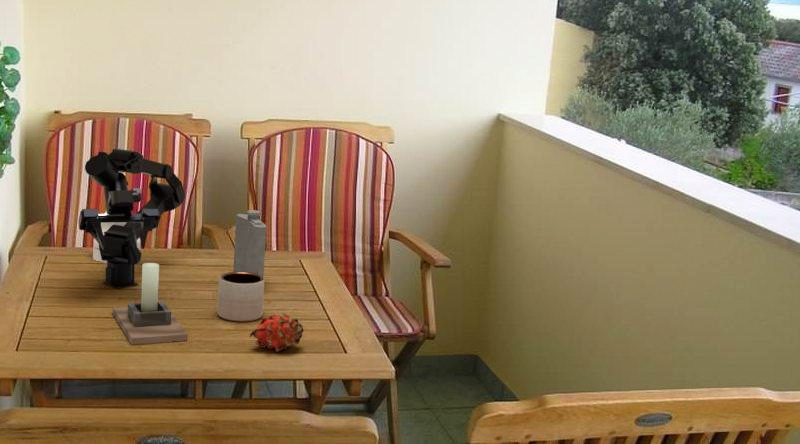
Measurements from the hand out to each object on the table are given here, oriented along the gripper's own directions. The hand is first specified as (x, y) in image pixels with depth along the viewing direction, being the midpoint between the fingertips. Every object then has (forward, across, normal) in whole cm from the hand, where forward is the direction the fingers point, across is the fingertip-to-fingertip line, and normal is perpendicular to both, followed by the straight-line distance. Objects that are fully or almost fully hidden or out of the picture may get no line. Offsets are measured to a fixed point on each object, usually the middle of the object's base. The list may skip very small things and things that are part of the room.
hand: (124, 248), depth 227 cm
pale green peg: (+22, +2, -4) cm, 22 cm away
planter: (+20, +25, -1) cm, 32 cm away
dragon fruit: (+37, +26, -18) cm, 48 cm away
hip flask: (+2, +35, +17) cm, 39 cm away
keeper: (+23, +2, -3) cm, 23 cm away
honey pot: (-20, +6, +39) cm, 44 cm away
